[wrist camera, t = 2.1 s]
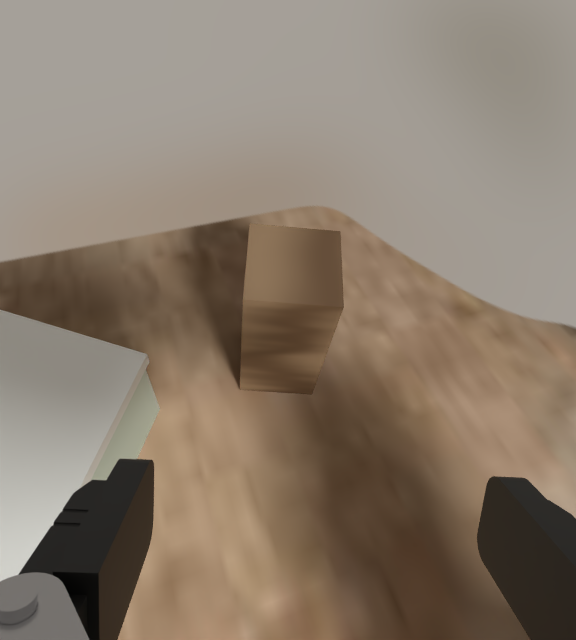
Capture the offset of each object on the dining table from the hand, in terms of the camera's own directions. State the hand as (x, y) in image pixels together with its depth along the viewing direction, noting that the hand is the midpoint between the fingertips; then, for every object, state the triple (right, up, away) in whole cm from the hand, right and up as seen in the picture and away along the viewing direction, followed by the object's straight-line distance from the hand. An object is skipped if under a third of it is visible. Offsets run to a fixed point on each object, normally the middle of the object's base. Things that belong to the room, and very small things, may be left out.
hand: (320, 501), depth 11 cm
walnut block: (-2, +2, +19) cm, 20 cm away
